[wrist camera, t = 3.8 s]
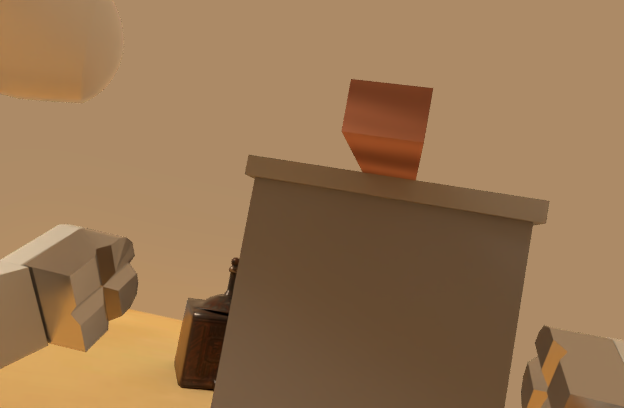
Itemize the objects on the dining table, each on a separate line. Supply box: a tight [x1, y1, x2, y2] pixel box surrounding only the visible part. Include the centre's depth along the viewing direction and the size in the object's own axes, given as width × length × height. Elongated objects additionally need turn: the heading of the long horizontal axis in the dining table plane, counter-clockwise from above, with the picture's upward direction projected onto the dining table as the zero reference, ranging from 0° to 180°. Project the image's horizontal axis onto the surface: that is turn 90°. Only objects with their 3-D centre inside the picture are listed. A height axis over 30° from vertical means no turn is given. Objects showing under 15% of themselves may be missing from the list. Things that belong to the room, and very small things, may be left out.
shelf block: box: [211, 155, 549, 408], centre depth 33 cm, size 17×17×26 cm
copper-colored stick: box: [342, 79, 433, 180], centre depth 29 cm, size 26×3×2 cm, turn 169°
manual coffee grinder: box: [175, 258, 239, 390], centre depth 64 cm, size 16×11×18 cm
